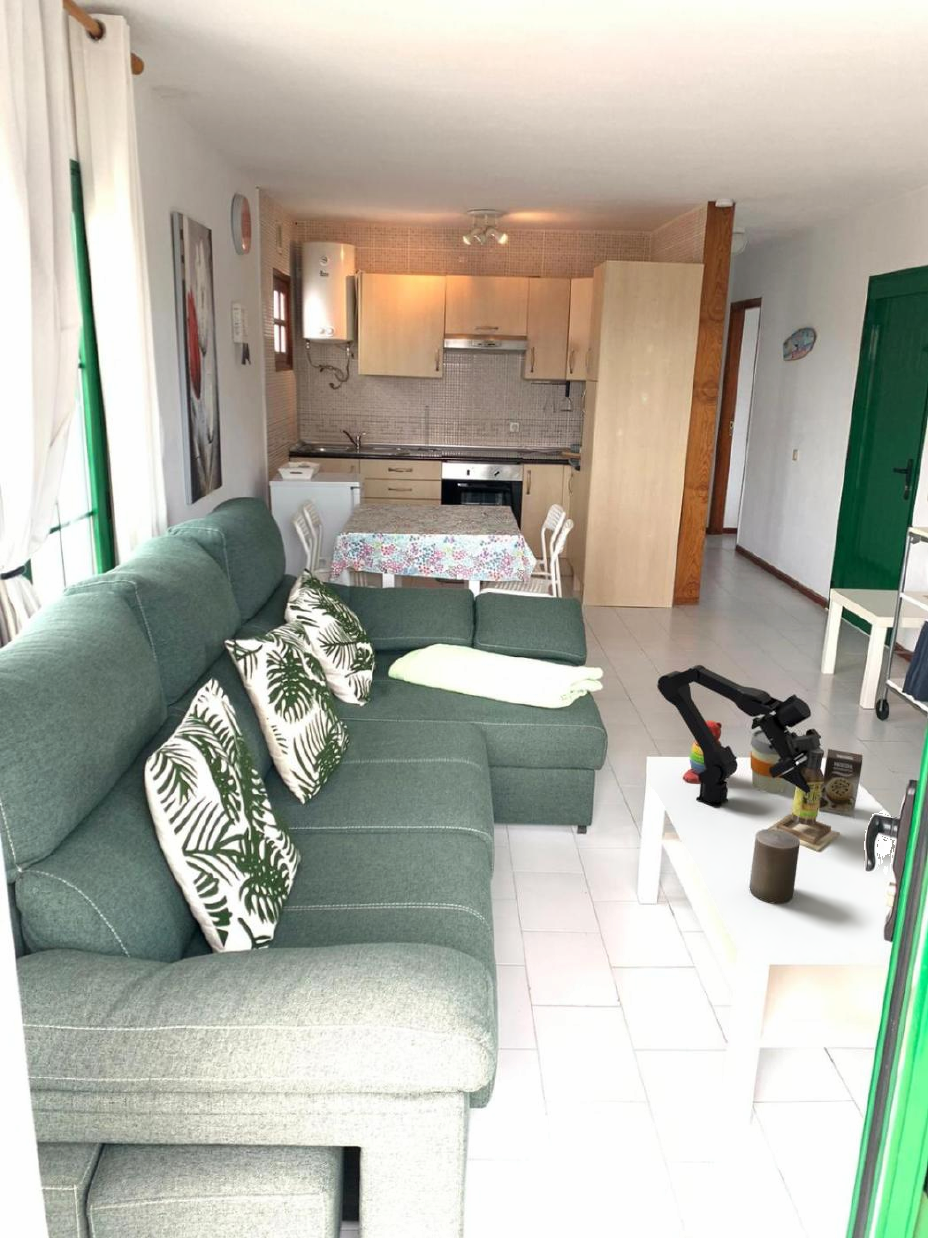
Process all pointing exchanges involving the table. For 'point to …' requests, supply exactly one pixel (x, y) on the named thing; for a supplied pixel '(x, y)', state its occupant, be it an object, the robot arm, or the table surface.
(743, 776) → the table surface
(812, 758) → the sauce bottle
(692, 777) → the stacking bear
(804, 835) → the cradle
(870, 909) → the table surface
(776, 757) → the reusable coffee cup
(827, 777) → the cookie box
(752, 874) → the pillar candle
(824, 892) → the table surface
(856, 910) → the table surface
